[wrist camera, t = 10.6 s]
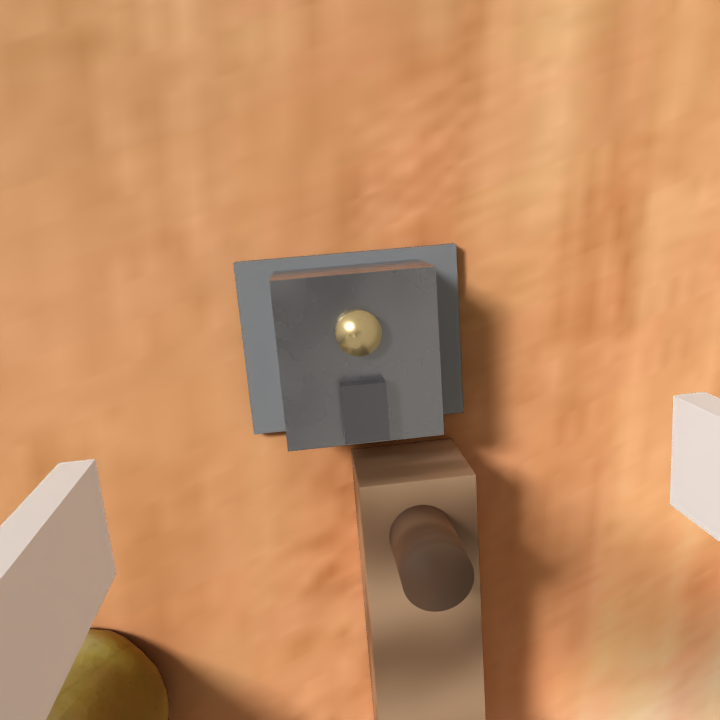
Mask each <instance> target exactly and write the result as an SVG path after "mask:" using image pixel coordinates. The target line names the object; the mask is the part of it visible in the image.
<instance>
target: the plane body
mask: <svg viewBox="0 0 720 720" xmlns="http://www.w3.org/2000/svg"><path fill="white" fill-rule="evenodd" d="M351 454H352V466H353V477H354V489H355V501H356V512H357V524H358V535H359V547H360V559H361V570H362V582H363V593H364V605H365V617H366V628H367V640H368V652H369V663H370V675H371V686H372V698H373V710H374V720H486V718H485V693H484V668H483V642H482V617H481V592H480V566H479V541H478V516H477V490H476V474H475V473H474V471H473V470H472V468H471V467H470V465H469V464H468V462H467V461H466V459H465V458H464V456H463V455H462V453H461V452H460V450H459V449H458V447H457V446H456V444H455V443H454V441H453V440H452V439H445V440H436V441H427V442H417V443H408V444H399V445H389V446H380V447H371V448H361V449H352V450H351Z"/></svg>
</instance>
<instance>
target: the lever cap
mask: <svg viewBox="0 0 720 720" xmlns="http://www.w3.org/2000/svg"><path fill="white" fill-rule="evenodd" d="M269 282H270V291H271V300H272V309H273V319H274V328H275V337H276V346H277V355H278V364H279V373H280V382H281V391H282V401H283V410H284V419H285V428H286V437H287V446H288V451H297V450H306V449H315V448H325V447H334V446H344V445H353V444H362V443H372V442H381V441H390V440H400V439H409V438H419V437H428V436H437V435H444V422H443V403H442V383H441V363H440V344H439V324H438V304H437V285H436V266H434V265H431V264H429V263H426V262H424V261H421V260H419V259H411V260H400V261H388V262H377V263H365V264H354V265H342V266H330V267H319V268H307V269H296V270H284V271H273V273H272V276H271V278H270V281H269Z"/></svg>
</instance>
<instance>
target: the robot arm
mask: <svg viewBox="0 0 720 720" xmlns="http://www.w3.org/2000/svg"><path fill="white" fill-rule="evenodd" d="M670 505H672V506H673V507H674V508H676V509H677V510H678V511H679V512H681V513H682V514H683V515H685V516H686V517H687V518H689V519H690V520H691V521H693V522H694V523H695V524H697V525H698V526H699V527H701V528H702V529H703V530H704V531H706V532H707V533H708V534H710V535H711V536H712V537H714V538H715V539H716V540H718V541H719V542H720V398H718V397H715V396H713V395H711V394H708V393H706V392H699V393H690V394H681V395H673V424H672V455H671V487H670ZM115 575H116V570H115V564H114V559H113V553H112V548H111V542H110V537H109V531H108V525H107V520H106V514H105V509H104V503H103V498H102V492H101V487H100V481H99V476H98V470H97V465H96V459H90V460H81V461H72V462H63V463H58V464H57V465H56V467H55V468H54V469H53V470H52V471H51V472H50V473H49V474H48V475H47V476H46V477H45V478H44V480H43V481H42V482H41V483H40V484H39V485H38V486H37V487H36V488H35V489H34V490H33V491H32V492H31V494H30V495H29V496H28V497H27V498H26V499H25V500H24V501H23V502H22V503H21V504H20V505H19V507H18V508H17V509H16V510H15V511H14V512H13V513H12V514H11V515H10V516H9V517H8V518H7V520H6V521H5V522H4V523H3V524H2V525H1V526H0V720H46V719H47V717H48V715H49V713H50V711H51V708H52V706H53V704H54V702H55V700H56V698H57V696H58V694H59V692H60V690H61V688H62V686H63V683H64V681H65V679H66V677H67V675H68V673H69V671H70V669H71V667H72V665H73V663H74V661H75V658H76V656H77V654H78V652H79V650H80V648H81V646H82V644H83V642H84V640H85V638H86V636H87V633H88V631H89V629H90V627H91V625H92V623H93V621H94V619H95V617H96V615H97V613H98V611H99V608H100V606H101V604H102V602H103V600H104V598H105V596H106V594H107V592H108V590H109V588H110V586H111V583H112V581H113V579H114V577H115Z"/></svg>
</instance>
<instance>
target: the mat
mask: <svg viewBox="0 0 720 720" xmlns="http://www.w3.org/2000/svg"><path fill="white" fill-rule="evenodd" d="M411 259H419V260H421V261H424V262H426V263H429V264H431V265H434V266H436V285H437V304H438V324H439V344H440V363H441V383H442V403H443V415H445V414H454V413H463V392H462V369H461V346H460V322H459V299H458V276H457V253H456V244H453V243H452V244H441V245H429V246H417V247H405V248H394V249H382V250H370V251H358V252H347V253H335V254H323V255H311V256H300V257H288V258H276V259H264V260H253V261H241V262H234V263H233V264H234V272H235V281H236V289H237V297H238V305H239V314H240V322H241V330H242V338H243V346H244V355H245V363H246V371H247V379H248V387H249V396H250V404H251V412H252V420H253V428H254V434H263V433H272V432H282V431H286V428H285V419H284V410H283V401H282V391H281V382H280V373H279V364H278V355H277V346H276V337H275V328H274V319H273V309H272V300H271V291H270V282H269V281H270V278H271V276H272V273H273V271H284V270H296V269H307V268H319V267H330V266H342V265H354V264H365V263H377V262H388V261H400V260H411Z"/></svg>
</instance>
